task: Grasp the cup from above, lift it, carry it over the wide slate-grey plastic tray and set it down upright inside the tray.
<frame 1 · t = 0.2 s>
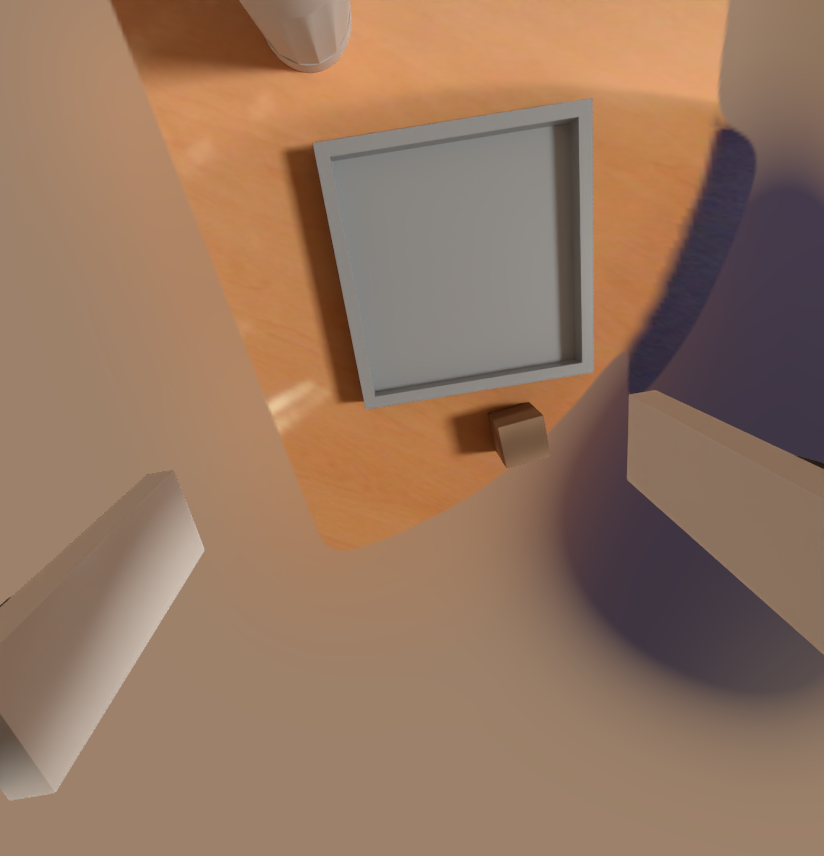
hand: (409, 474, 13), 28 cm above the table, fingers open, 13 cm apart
cup: (306, 18, 31), on the table
tray: (462, 268, 37), on the table
walnut block: (512, 426, 43), on the table
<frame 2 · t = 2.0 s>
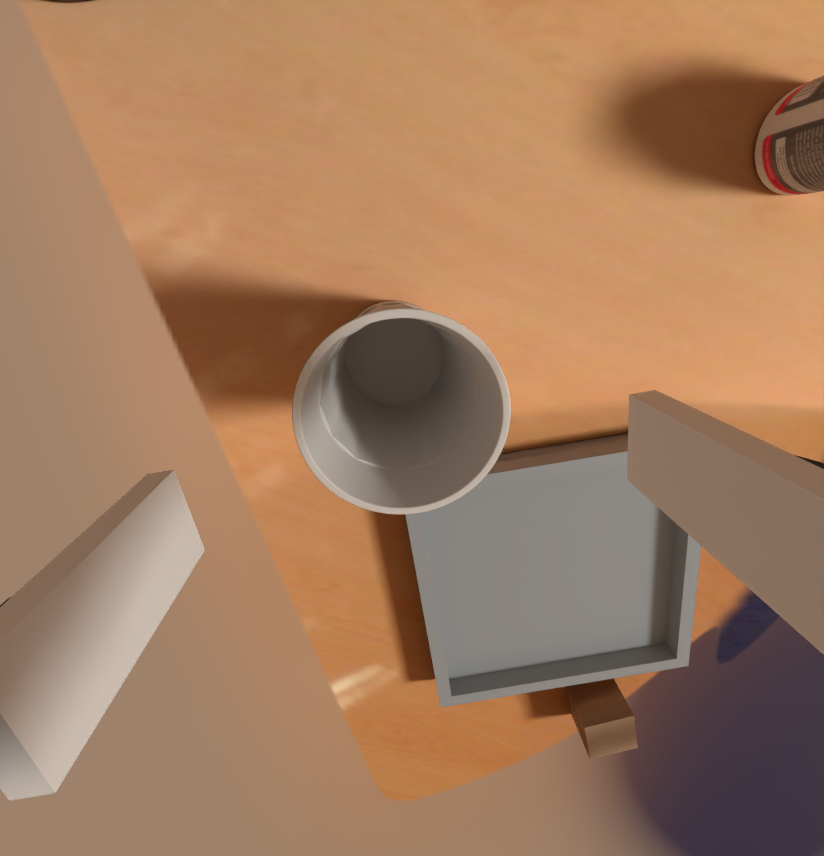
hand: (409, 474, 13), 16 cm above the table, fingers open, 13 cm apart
pill bottle: (795, 142, 25), on the table
cup: (394, 353, 28), on the table
tray: (548, 564, 34), on the table
walnut block: (589, 692, 40), on the table
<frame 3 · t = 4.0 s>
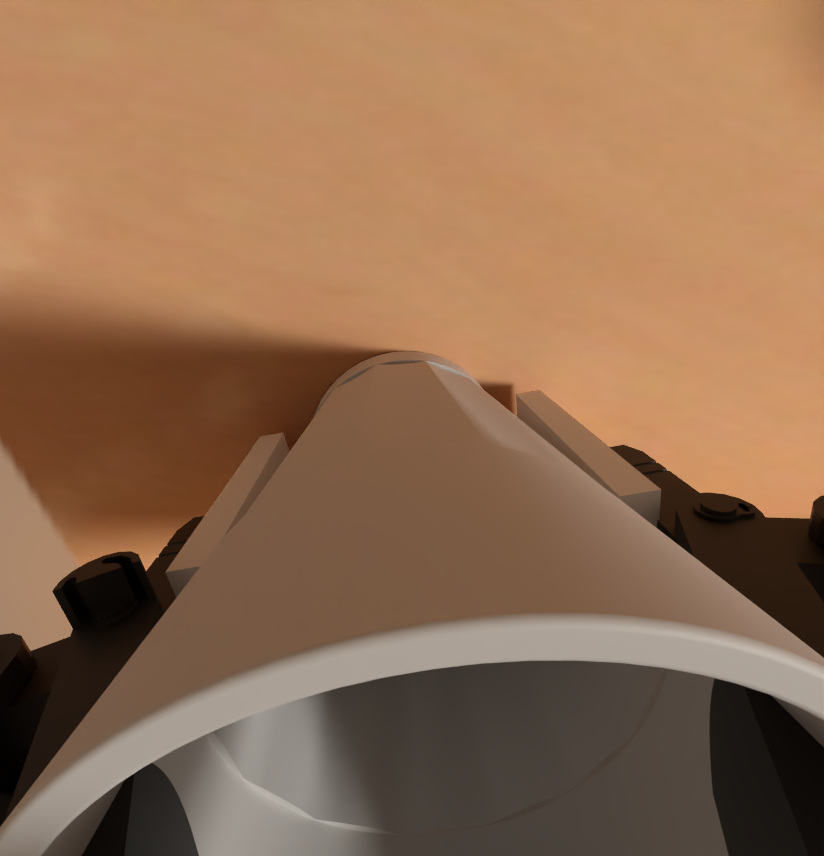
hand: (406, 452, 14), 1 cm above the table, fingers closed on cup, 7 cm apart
cup: (405, 442, 15), on the table, touching gripper
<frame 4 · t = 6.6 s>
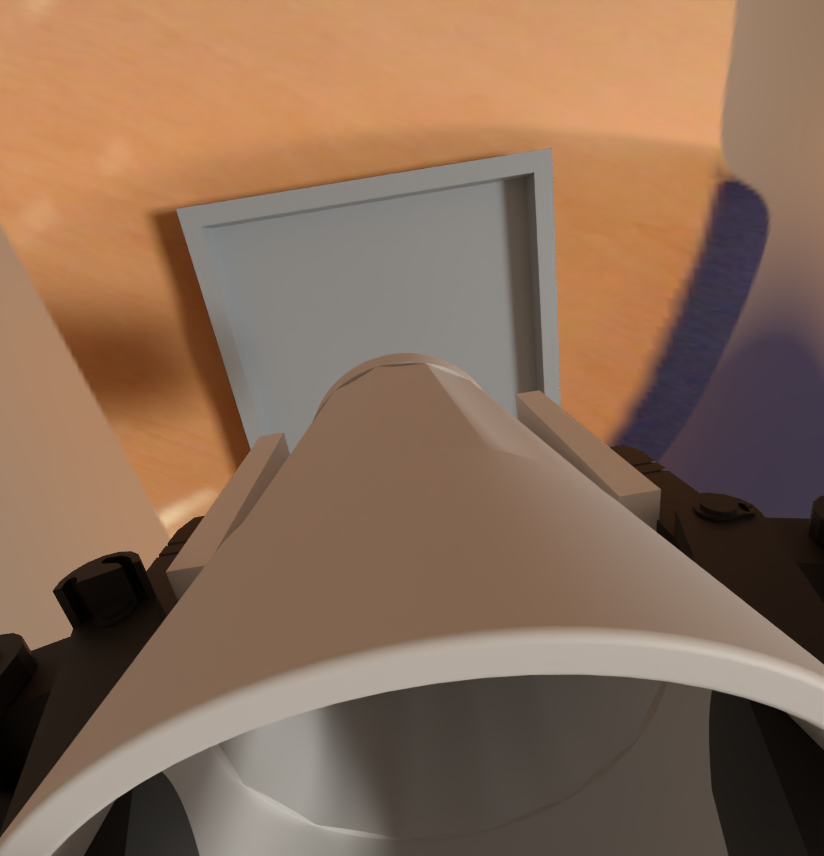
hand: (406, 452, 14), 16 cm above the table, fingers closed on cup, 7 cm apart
cup: (405, 444, 15), point 15 cm above the table, touching gripper
tray: (394, 355, 29), on the table
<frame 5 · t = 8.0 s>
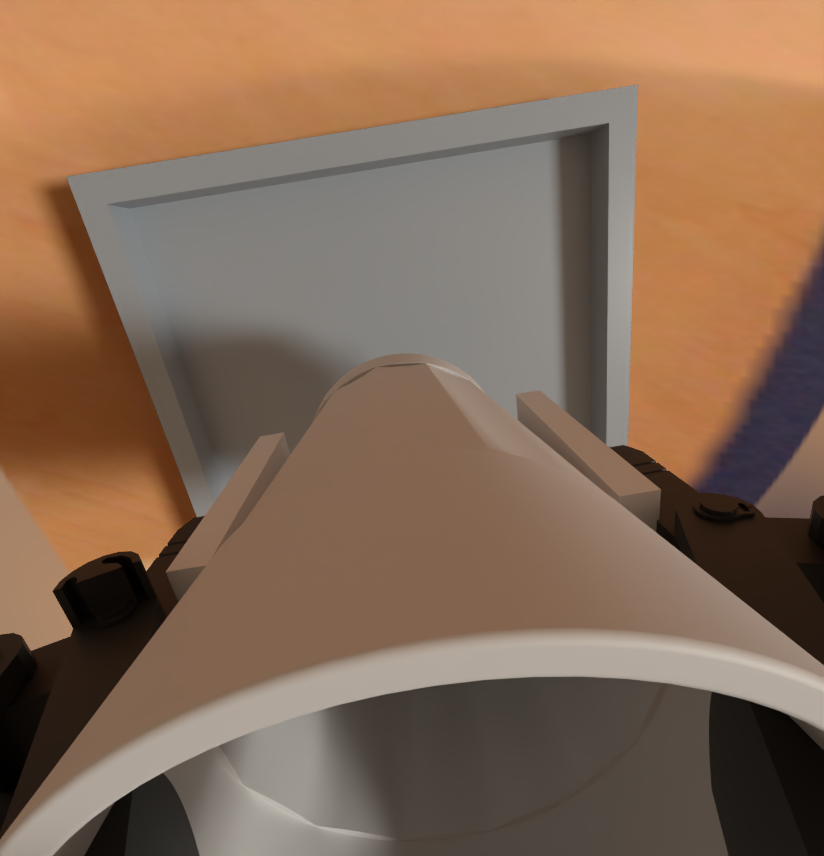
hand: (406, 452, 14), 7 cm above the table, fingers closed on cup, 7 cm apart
cup: (405, 444, 15), point 7 cm above the table, touching gripper
tray: (397, 387, 21), on the table
when the fingers open (3 cm above the table, at t = 9.3 s): cup drops 1 cm, resting on tray.
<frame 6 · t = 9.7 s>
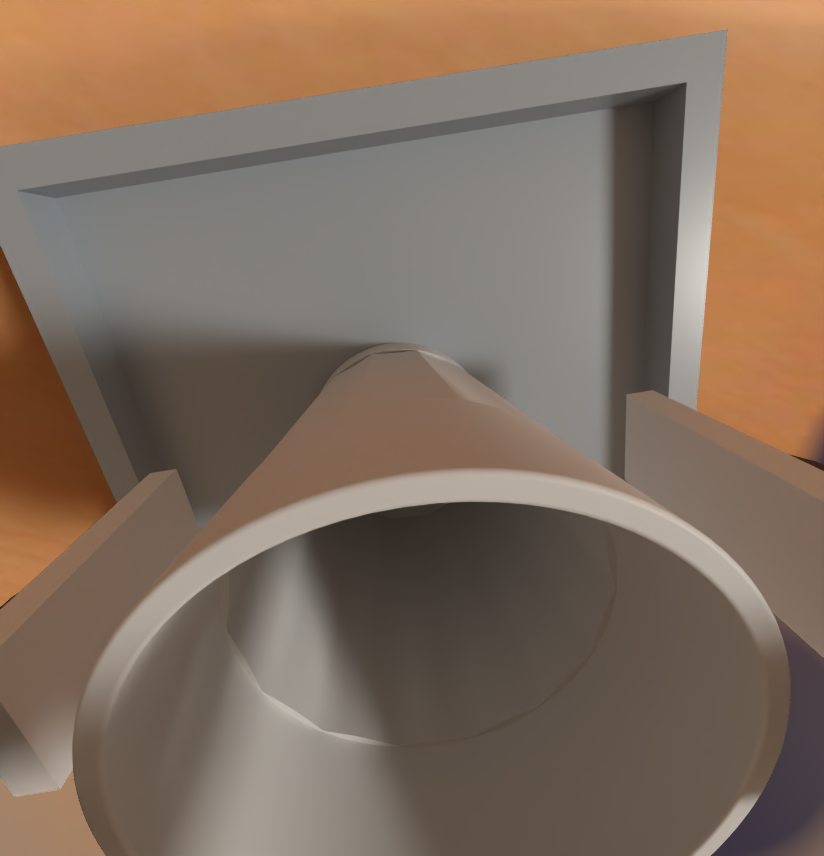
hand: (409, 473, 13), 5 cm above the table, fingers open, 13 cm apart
cup: (400, 427, 16), point 1 cm above the table, touching tray
tray: (402, 420, 17), on the table
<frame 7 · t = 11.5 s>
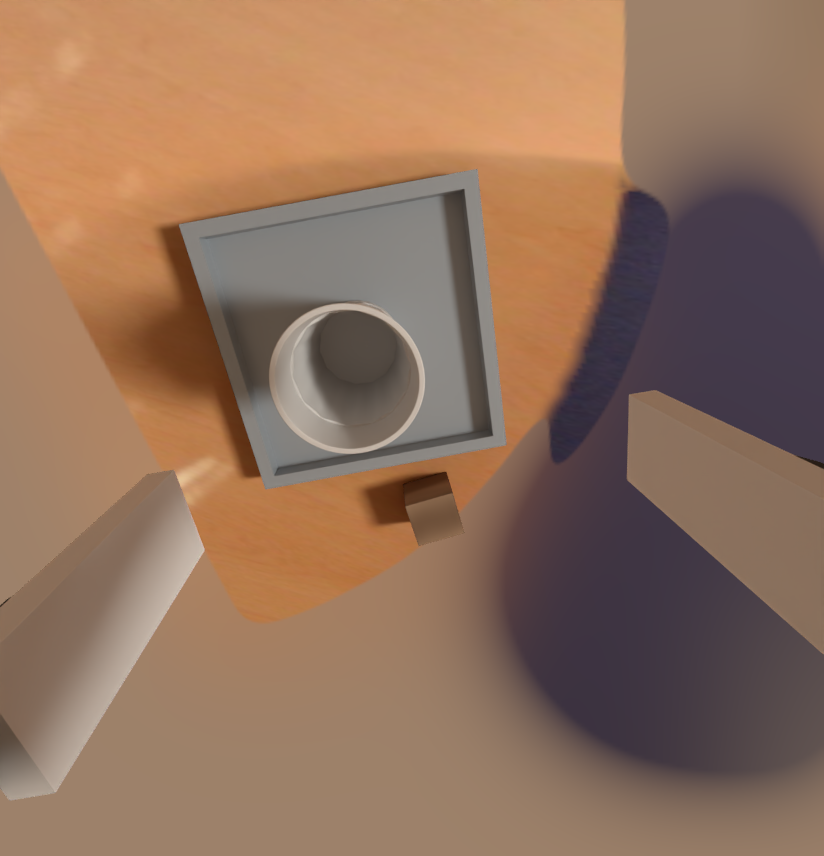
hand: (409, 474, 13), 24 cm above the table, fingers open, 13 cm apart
cup: (359, 342, 34), point 1 cm above the table, touching tray
tray: (361, 341, 35), on the table
walnut block: (430, 496, 40), on the table
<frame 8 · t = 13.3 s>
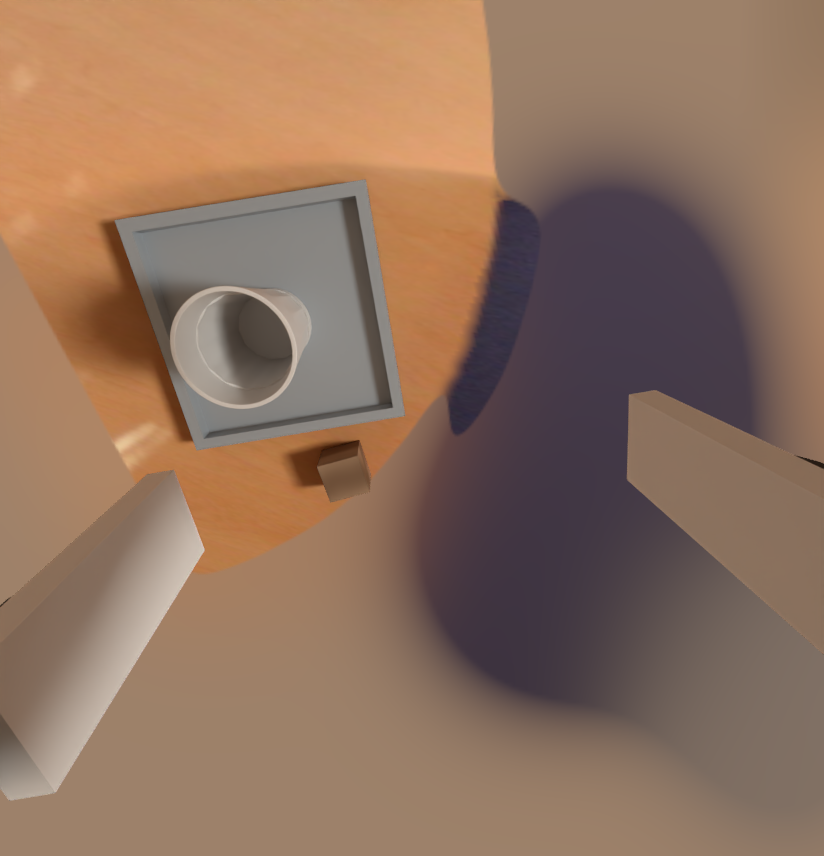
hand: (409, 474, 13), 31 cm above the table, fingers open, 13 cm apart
cup: (276, 324, 40), point 1 cm above the table, touching tray
tray: (279, 323, 41), on the table
walnut block: (346, 462, 46), on the table
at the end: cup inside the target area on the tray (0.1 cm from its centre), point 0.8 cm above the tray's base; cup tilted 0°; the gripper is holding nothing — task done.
